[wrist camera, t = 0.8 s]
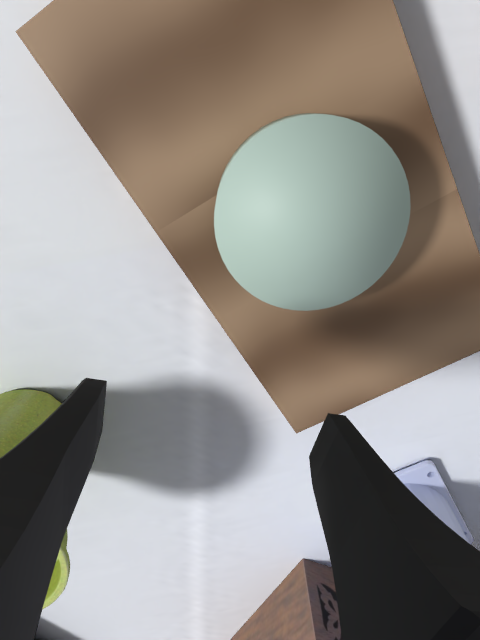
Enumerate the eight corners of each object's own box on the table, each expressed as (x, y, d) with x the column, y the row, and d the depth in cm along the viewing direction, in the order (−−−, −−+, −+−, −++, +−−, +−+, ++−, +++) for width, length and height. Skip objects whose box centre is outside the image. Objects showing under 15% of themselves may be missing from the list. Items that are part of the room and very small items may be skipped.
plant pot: (96, 357, 24) (31, 480, 16) (127, 477, 28) (88, 618, 20) (-69, 368, 24) (-211, 495, 16) (-12, 485, 28) (-103, 629, 21)
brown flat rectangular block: (486, 320, 23) (508, 338, 21) (291, 410, 26) (296, 433, 24) (308, -178, 14) (318, -217, 12) (38, 39, 17) (15, 31, 15)
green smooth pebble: (418, 240, 19) (437, 255, 17) (268, 318, 21) (272, 339, 19) (349, 71, 16) (364, 67, 14) (181, 179, 18) (175, 188, 16)
